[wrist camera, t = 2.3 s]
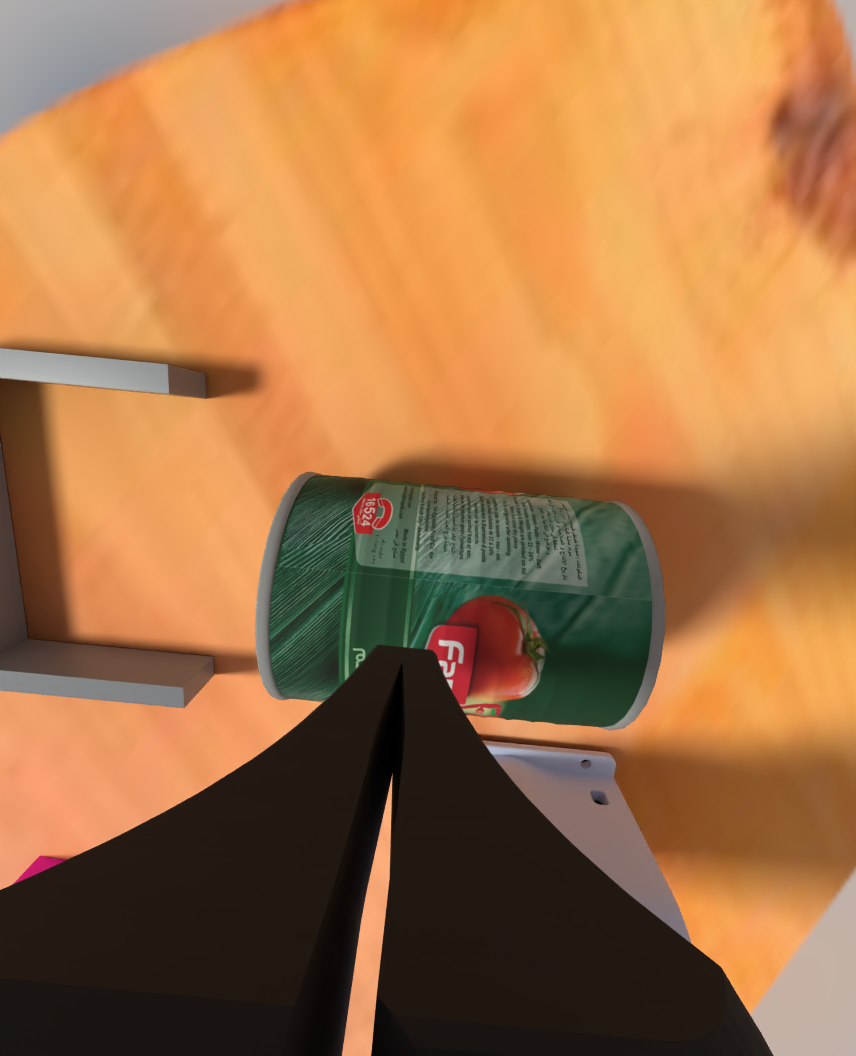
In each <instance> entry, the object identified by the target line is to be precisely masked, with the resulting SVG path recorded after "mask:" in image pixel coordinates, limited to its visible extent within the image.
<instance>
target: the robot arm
mask: <svg viewBox="0 0 856 1056" xmlns="http://www.w3.org/2000/svg"><path fill="white" fill-rule="evenodd" d="M583 760H587V761H586V762H583V763H582V761H583ZM615 769H616V762H615V760H614V758H613V756H612V755H611V754H609V753H607V752H598V751H588V750H577V749H567V748H557V747H546V746H536V745H525V744H515V743H504V742H494V741H483V740H482V739H481V738H480V736H479V735H478V733H477V732H476V730H475V729H474V727H473V726H472V724H471V723H470V721H469V720H468V718H467V716H466V715H465V713H464V711H463V710H462V708H461V706H460V704H459V702H458V701H457V699H456V697H455V695H454V694H453V692H452V690H451V688H450V686H449V684H448V682H447V680H446V677H445V675H444V673H443V671H442V668H441V666H440V663H439V661H438V657H437V655H436V653H435V652H434V651H433V650H429V649H418V648H408V647H397V646H387V645H377V646H376V647H374V648H373V649H372V650H371V651H370V653H369V654H368V655H367V657H366V658H365V659H364V660H363V661H362V663H361V664H360V665H359V666H358V667H357V668H356V669H355V670H354V672H353V673H352V674H351V675H350V676H349V677H348V678H347V679H346V680H345V681H344V682H343V683H342V684H341V685H340V686H339V687H338V688H337V689H336V690H335V691H334V692H333V693H332V694H331V695H330V696H329V697H328V698H327V699H326V700H325V701H324V702H323V703H322V704H321V705H320V706H318V707H317V708H316V709H315V710H314V711H313V712H312V713H311V714H310V715H308V716H307V717H306V718H305V719H304V720H303V721H302V722H300V723H299V724H298V725H297V726H296V727H294V728H293V729H292V730H291V731H290V732H288V733H287V734H286V735H284V736H283V737H282V738H281V739H279V740H278V741H277V742H275V743H274V744H273V745H271V746H270V747H269V748H267V749H266V750H265V751H263V752H262V753H260V754H259V755H258V756H256V757H255V758H253V759H252V760H250V761H249V762H247V763H246V764H244V765H242V766H241V767H239V768H238V769H236V770H235V771H233V772H231V773H230V774H228V775H227V776H225V777H223V778H222V779H220V780H219V781H217V782H216V783H214V784H212V785H211V786H209V787H208V788H206V789H204V790H203V791H201V792H199V793H198V794H196V795H194V796H192V797H191V798H189V799H187V800H185V801H183V802H182V803H180V804H178V805H176V806H174V807H173V808H171V809H169V810H167V811H165V812H164V813H162V814H160V815H158V816H156V817H154V818H152V819H150V820H148V821H146V822H144V823H142V824H141V825H139V826H137V827H135V828H133V829H131V830H129V831H127V832H125V833H123V834H121V835H119V836H117V837H115V838H113V839H111V840H109V841H107V842H105V843H103V844H101V845H99V846H96V847H94V848H92V849H90V850H88V851H86V852H83V853H81V854H79V855H77V856H75V857H72V858H70V859H68V860H66V861H64V862H61V863H59V864H57V865H55V866H53V867H50V868H48V869H46V870H44V871H42V872H39V873H37V874H35V875H33V876H31V877H28V878H26V879H24V880H22V881H20V882H17V883H15V884H13V885H11V886H9V887H6V888H4V889H2V890H0V1056H342V1050H343V1043H344V1036H345V1029H346V1022H347V1015H348V1008H349V1001H350V994H351V987H352V980H353V973H354V966H355V959H356V952H357V945H358V938H359V931H360V924H361V918H362V913H363V907H364V902H365V897H366V891H367V886H368V882H369V877H370V873H371V868H372V864H373V859H374V855H375V850H376V846H377V841H378V837H379V832H380V828H381V823H382V819H383V814H384V810H385V805H386V800H387V796H388V791H389V787H390V782H391V778H392V813H391V850H390V881H389V890H388V899H387V908H386V917H385V926H384V935H383V944H382V953H381V962H380V971H379V980H378V989H377V999H376V1010H375V1021H374V1032H373V1043H372V1054H371V1056H773V1054H772V1052H771V1050H770V1049H769V1047H768V1045H767V1043H766V1041H765V1039H764V1038H763V1036H762V1034H761V1032H760V1030H759V1029H758V1027H757V1026H756V1024H755V1022H754V1021H753V1019H752V1017H751V1016H750V1014H749V1013H748V1011H747V1009H746V1008H745V1006H744V1005H743V1003H742V1001H741V1000H740V998H739V996H738V995H737V993H736V992H735V990H734V988H733V986H732V985H731V983H730V981H729V980H728V978H727V976H726V974H725V973H724V971H723V969H722V968H721V967H720V966H719V965H718V964H716V963H715V962H714V961H713V960H711V959H710V958H709V957H708V956H706V955H705V954H704V953H703V952H701V951H700V950H699V949H697V948H696V947H695V946H694V945H692V944H691V940H690V937H689V934H688V931H687V928H686V925H685V922H684V919H683V917H682V914H681V912H680V909H679V907H678V904H677V902H676V900H675V898H674V896H673V894H672V891H671V889H670V887H669V885H668V884H667V882H666V880H665V878H664V876H663V874H662V872H661V870H660V868H659V866H658V864H657V862H656V860H655V858H654V856H653V854H652V852H651V850H650V848H649V846H648V844H647V842H646V840H645V838H644V836H643V834H642V832H641V830H640V828H639V826H638V824H637V822H636V820H635V818H634V816H633V814H632V812H631V810H630V809H629V807H628V805H627V803H626V801H625V799H624V797H623V795H622V793H621V791H620V789H619V787H618V785H617V783H616V781H615V779H614V773H615ZM392 773H393V777H392Z"/></svg>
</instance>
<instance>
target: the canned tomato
mask: <svg viewBox="0 0 856 1056" xmlns="http://www.w3.org/2000/svg"><path fill="white" fill-rule="evenodd" d="M664 633H665V600H664V589H663V578H662V573H661V568H660V564H659V559H658V554H657V551H656V548H655V545H654V543H653V540H652V537H651V534H650V532H649V530H648V528H647V527H646V525H645V523H644V522H643V520H642V518H641V517H640V516H639V514H638V513H637V512H636V511H635V510H634V509H633V508H632V507H631V506H629V505H627V504H625V503H623V502H621V501H595V500H585V499H577V498H571V497H553V496H547V495H531V494H525V493H510V492H503V491H488V490H481V489H477V488H474V489H468V488H458V487H454V486H449V487H447V486H437V485H432V484H415V483H410V482H393V481H387V480H371V479H365V478H357V477H339V476H327V475H321V474H318V473H314V472H306V473H304V474H301V475H300V476H298V477H297V478H296V479H295V480H294V481H293V482H292V483H291V485H290V486H289V488H288V489H287V491H286V493H285V494H284V496H283V498H282V500H281V502H280V505H279V507H278V509H277V512H276V514H275V516H274V519H273V522H272V526H271V529H270V532H269V535H268V538H267V542H266V547H265V551H264V556H263V560H262V565H261V571H260V578H259V585H258V592H257V603H256V619H255V636H256V654H257V661H258V668H259V672H260V675H261V679H262V682H263V685H264V686H265V688H266V690H267V691H268V693H269V694H270V695H271V696H272V697H274V698H276V699H279V700H287V699H300V700H310V701H319V702H324V701H325V700H326V699H327V698H328V697H329V696H330V695H331V694H332V693H333V692H334V691H335V690H336V689H337V688H338V687H339V686H340V685H341V684H342V683H343V682H344V681H345V680H346V679H347V678H348V677H349V676H350V675H351V674H352V673H353V672H354V670H355V669H356V668H357V667H358V666H359V665H360V664H361V663H362V661H363V660H364V659H365V658H366V657H367V655H368V654H369V653H370V651H371V650H372V649H373V648H374V647H376V646H377V645H387V646H397V647H408V648H418V649H429V650H433V651H434V652H435V653H436V655H437V657H438V661H439V663H440V666H441V668H442V671H443V673H444V675H445V677H446V680H447V682H448V684H449V686H450V688H451V690H452V692H453V694H454V695H455V697H456V699H457V701H458V702H459V704H460V706H461V708H462V710H463V711H464V713H465V715H473V716H479V717H483V718H484V717H495V718H503V719H506V720H512V719H515V720H526V721H530V722H548V723H554V724H565V725H582V726H594V727H600V728H603V729H606V730H616V729H622V728H625V727H626V726H627V725H629V724H630V723H632V722H633V721H634V720H635V719H636V718H637V717H638V715H639V714H640V712H641V711H642V710H643V708H644V707H645V706H646V704H647V701H648V699H649V697H650V695H651V692H652V690H653V688H654V685H655V682H656V678H657V674H658V670H659V666H660V662H661V656H662V649H663V641H664Z"/></svg>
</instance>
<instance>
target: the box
mask: <svg viewBox="0 0 856 1056" xmlns="http://www.w3.org/2000/svg"><path fill="white" fill-rule="evenodd" d="M0 379H7V380H17V381H27V382H38V383H48V384H59V385H69V386H79V387H90V388H100V389H111V390H121V391H131V392H142V393H152V394H162V395H173V396H183V397H194V398H204V399H206V373H202V372H197V371H193V370H189V369H185V368H181V367H177V366H172V365H168V364H159V363H148V362H138V361H128V360H117V359H107V358H96V357H86V356H76V355H65V354H55V353H44V352H34V351H24V350H13V349H3V348H0ZM213 676H214V657H212V656H201V655H191V654H181V653H170V652H160V651H149V650H139V649H128V648H118V647H107V646H97V645H87V644H76V643H66V642H55V641H45V640H34V639H28V633H27V626H26V619H25V612H24V604H23V597H22V590H21V583H20V576H19V569H18V562H17V555H16V548H15V540H14V533H13V526H12V519H11V512H10V505H9V498H8V491H7V484H6V477H5V469H4V462H3V455H2V448H1V441H0V691H10V692H20V693H31V694H41V695H52V696H62V697H73V698H83V699H93V700H104V701H114V702H125V703H135V704H146V705H156V706H166V707H177V708H185V707H186V706H187V704H188V703H189V702H190V701H191V700H192V699H193V698H194V697H195V696H196V694H197V693H198V692H199V691H200V690H201V689H202V688H203V687H204V686H205V685H206V683H207V682H208V681H209V680H210V679H211V678H212V677H213Z"/></svg>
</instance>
